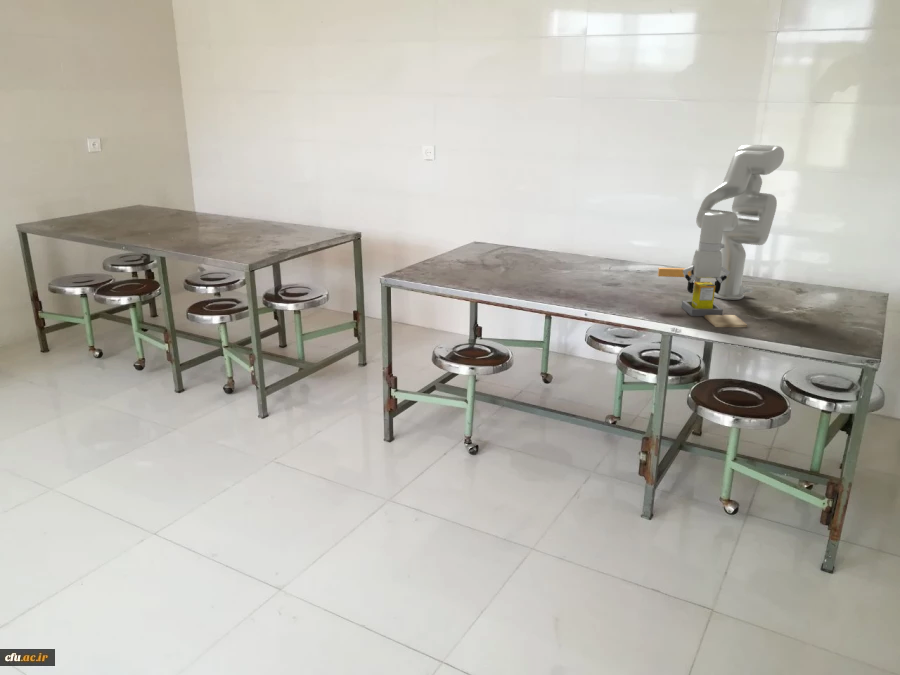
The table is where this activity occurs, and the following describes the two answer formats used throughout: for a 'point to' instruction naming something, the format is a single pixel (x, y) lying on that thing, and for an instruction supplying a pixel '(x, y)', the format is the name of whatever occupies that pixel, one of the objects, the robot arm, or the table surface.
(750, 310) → the table surface
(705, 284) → the supplement box
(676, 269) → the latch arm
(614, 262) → the table surface
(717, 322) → the oak board
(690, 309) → the socket collar
